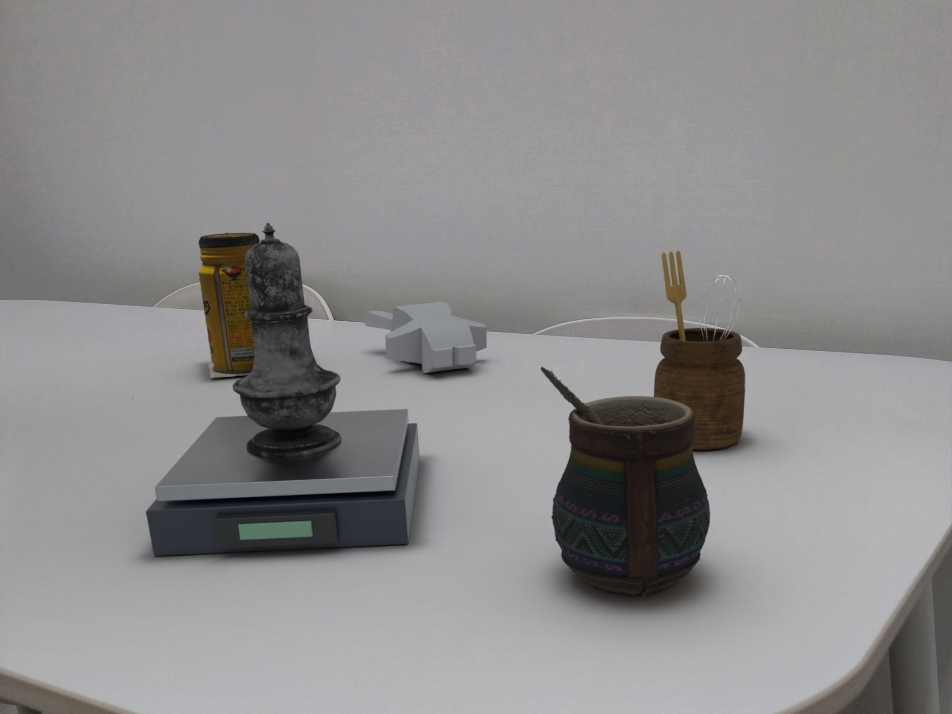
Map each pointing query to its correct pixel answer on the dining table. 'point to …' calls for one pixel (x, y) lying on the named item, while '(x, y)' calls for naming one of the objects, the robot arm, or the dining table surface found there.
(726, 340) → the utensil holder
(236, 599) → the dining table surface
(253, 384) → the salt shaker
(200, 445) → the scale pan
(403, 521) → the scale
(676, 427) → the mate gourd
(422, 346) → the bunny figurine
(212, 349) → the condiment
